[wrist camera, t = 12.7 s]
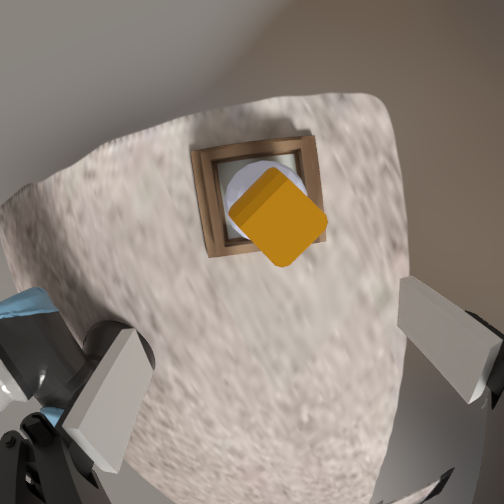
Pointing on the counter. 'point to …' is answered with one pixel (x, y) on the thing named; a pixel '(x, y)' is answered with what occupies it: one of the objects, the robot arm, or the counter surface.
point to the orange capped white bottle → (273, 211)
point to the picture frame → (223, 170)
